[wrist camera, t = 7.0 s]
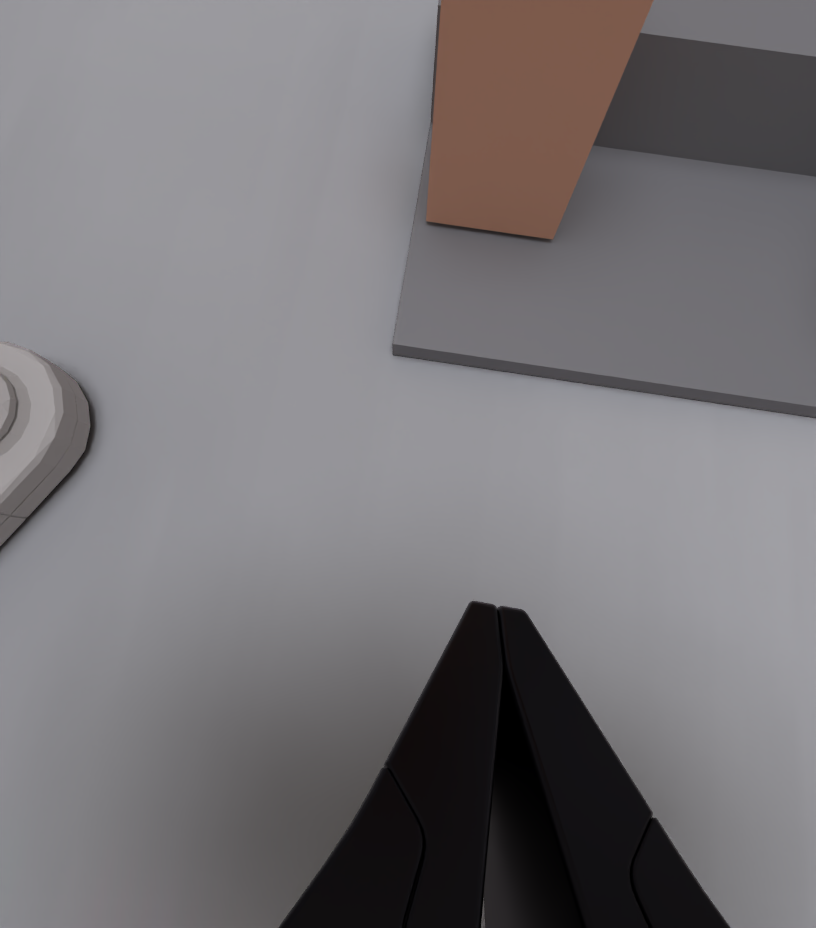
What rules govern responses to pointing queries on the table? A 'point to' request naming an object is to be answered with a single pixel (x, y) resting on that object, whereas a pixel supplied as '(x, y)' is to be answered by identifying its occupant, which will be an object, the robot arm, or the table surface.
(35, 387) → the electronic device
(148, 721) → the table surface
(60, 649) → the table surface
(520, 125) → the key
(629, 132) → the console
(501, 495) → the table surface
